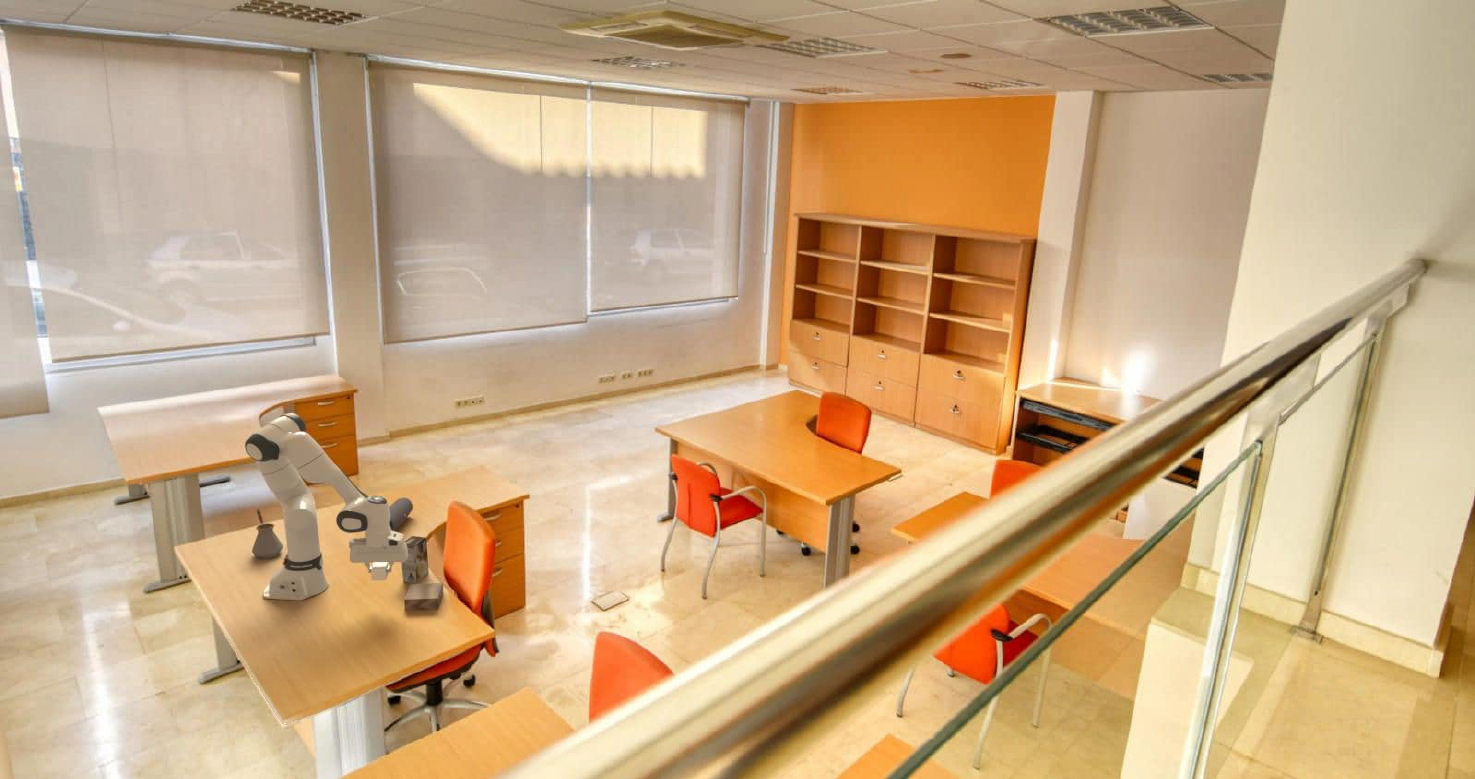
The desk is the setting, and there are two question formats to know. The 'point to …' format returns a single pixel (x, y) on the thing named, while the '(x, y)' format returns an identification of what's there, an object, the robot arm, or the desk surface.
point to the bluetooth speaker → (399, 512)
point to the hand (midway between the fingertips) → (380, 571)
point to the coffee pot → (266, 541)
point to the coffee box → (415, 560)
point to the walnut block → (423, 596)
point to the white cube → (379, 571)
